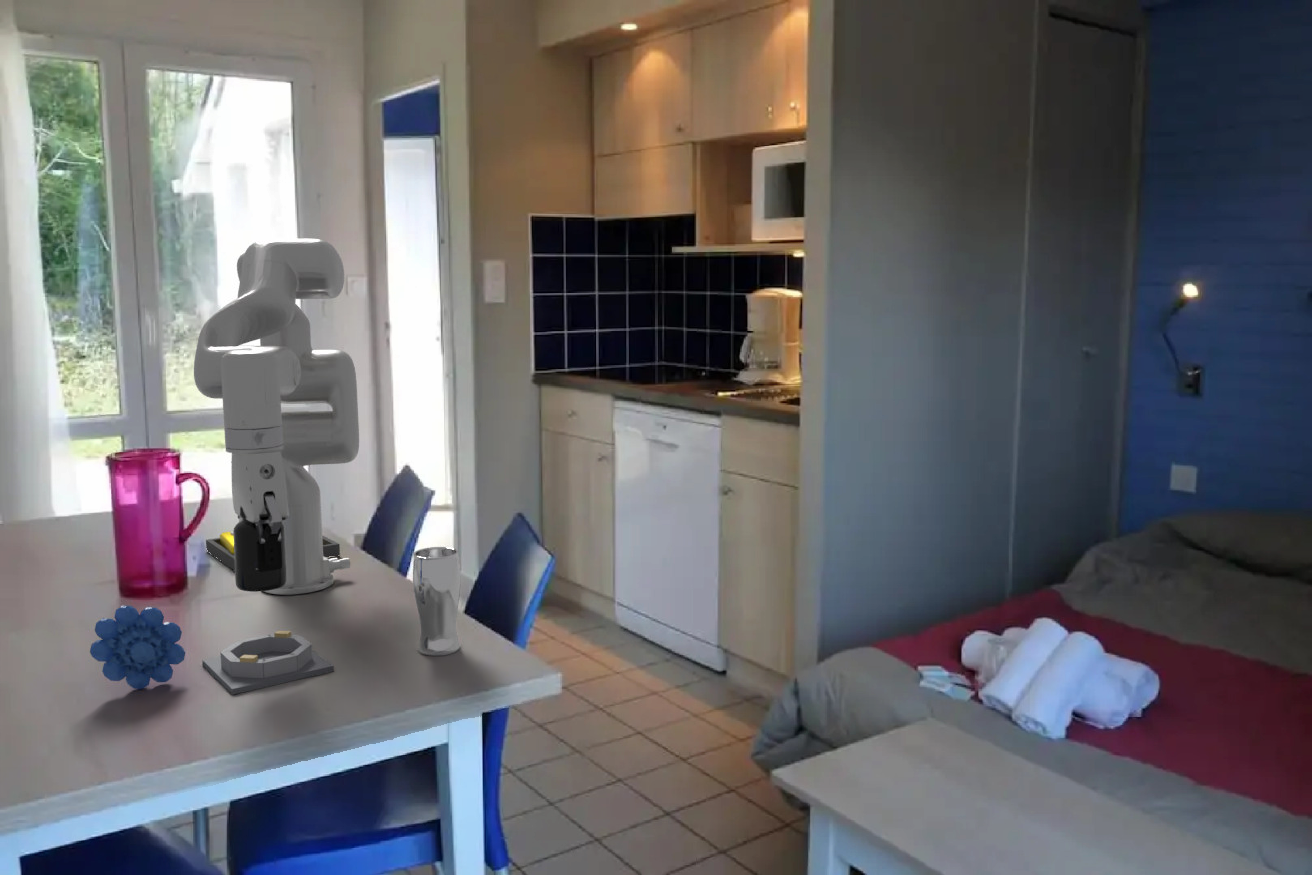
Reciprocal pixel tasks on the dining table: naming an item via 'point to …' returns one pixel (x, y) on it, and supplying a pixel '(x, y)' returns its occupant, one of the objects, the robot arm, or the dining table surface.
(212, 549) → the shallow dark tray
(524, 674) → the dining table surface
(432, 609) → the beer glass
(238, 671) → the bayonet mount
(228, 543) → the element tile
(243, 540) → the supplement bottle
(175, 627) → the blue petal flower
